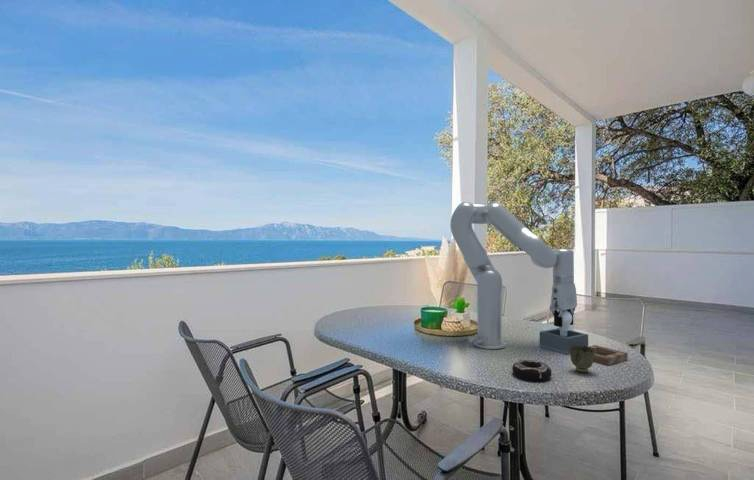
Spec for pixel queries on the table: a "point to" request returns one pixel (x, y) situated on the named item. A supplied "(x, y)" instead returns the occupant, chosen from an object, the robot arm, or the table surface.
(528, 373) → the donut
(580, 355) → the cup
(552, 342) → the grey open box
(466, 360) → the table surface
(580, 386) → the table surface
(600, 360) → the socket block
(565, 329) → the lightbulb
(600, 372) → the table surface
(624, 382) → the table surface
